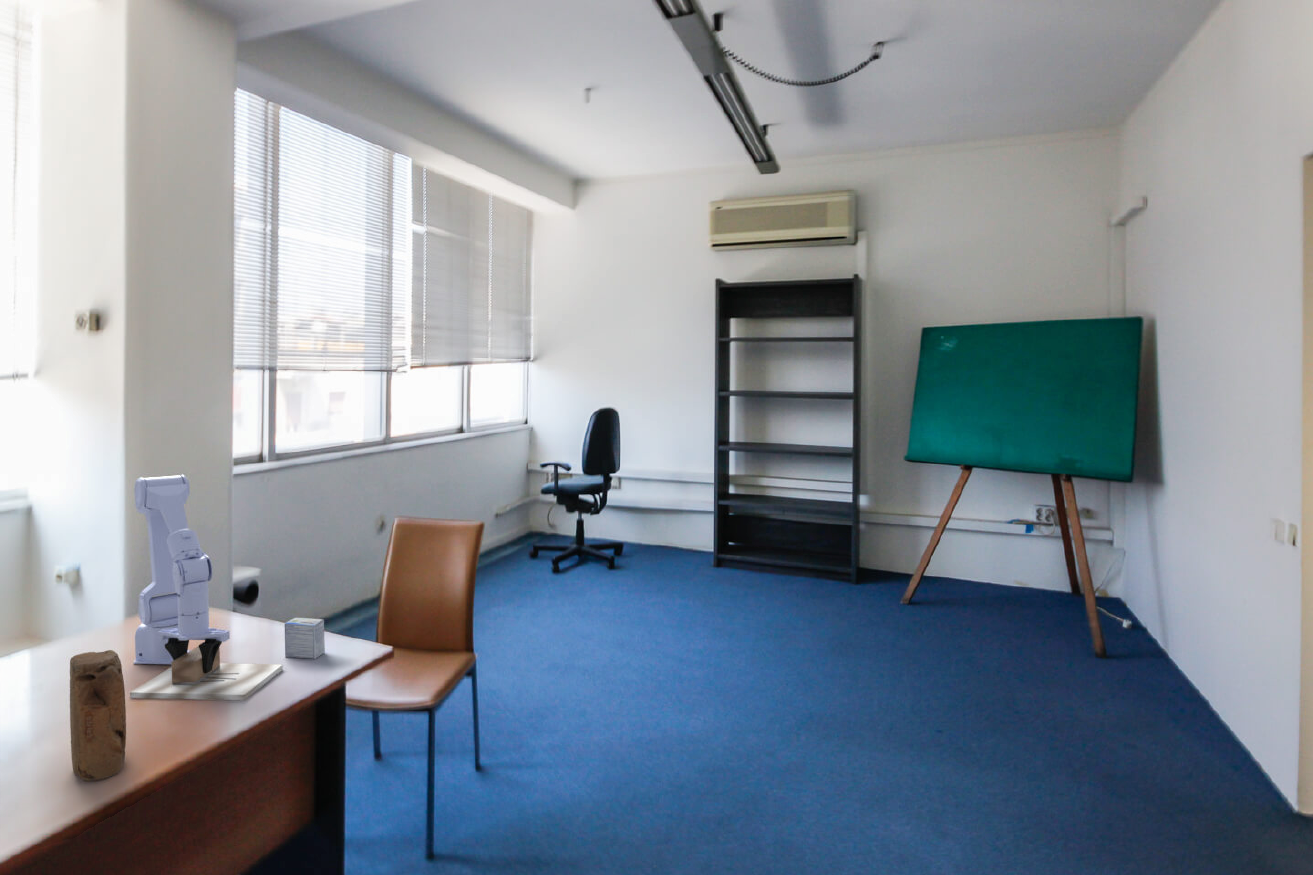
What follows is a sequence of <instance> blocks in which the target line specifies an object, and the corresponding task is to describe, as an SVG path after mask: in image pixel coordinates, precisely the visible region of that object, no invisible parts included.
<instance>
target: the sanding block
mask: <svg viewBox="0 0 1313 875" xmlns="http://www.w3.org/2000/svg"><path fill="white" fill-rule="evenodd" d="M220 649H221V648H219V649H218V651H217V653H216V656H215V659H214V663H213V667H212V670H211V671H210V672H208V673H203V664H202V655H201V652H200V649H199V646H195V647H194V648H192V649H190V650H191V651H189V652H187V653H186V654H184V655H182V656H181V657H179V658H177V659H176V660H174V661H172V662H171V664H170V665H171V667H172V684H177V685H196V684H197V683H199V682H200V681H202V680H203V679H205V678H206V677H208V676H209V675H211V674H212V673H214V672H215V671H217V670H218V669H220V663H221V661H220V660H221V658H220V654H221V651H220Z"/></svg>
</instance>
